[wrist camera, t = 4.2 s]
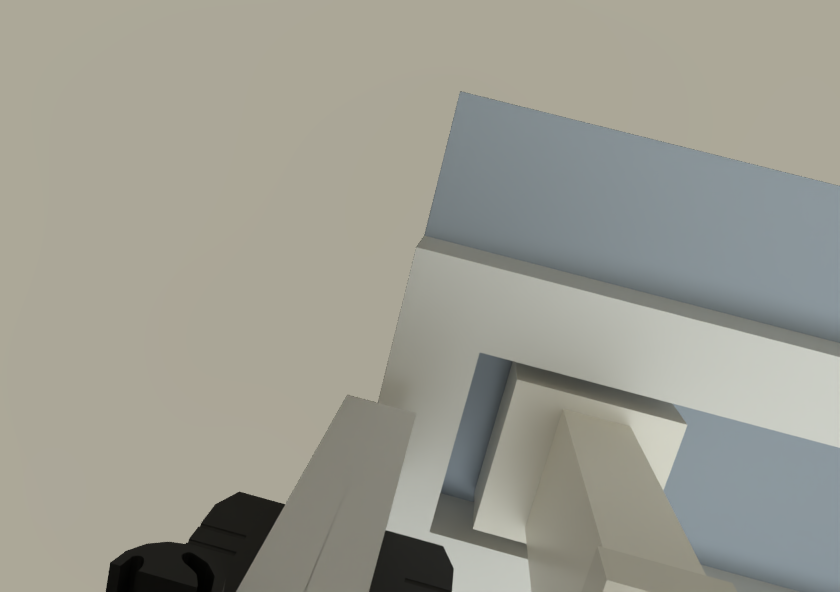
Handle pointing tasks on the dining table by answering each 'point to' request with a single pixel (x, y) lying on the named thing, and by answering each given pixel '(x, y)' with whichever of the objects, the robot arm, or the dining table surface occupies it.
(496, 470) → the fader tab
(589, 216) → the console
